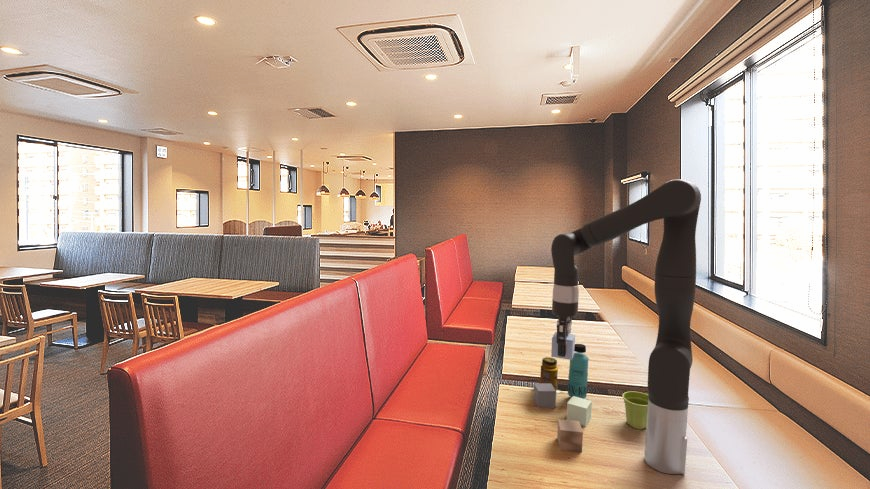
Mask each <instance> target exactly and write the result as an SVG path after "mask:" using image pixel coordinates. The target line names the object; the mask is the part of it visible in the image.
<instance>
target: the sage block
mask: <svg viewBox="0 0 870 489" xmlns="http://www.w3.org/2000/svg"><path fill="white" fill-rule="evenodd" d="M592 402H593V401H592V400H590V399H586V398H585V399H583V398H579V397H575V396H573V397H572V398H571V397H570V399H569V400H568V401H567V403H566V420H573V421H579V422H580V425H581V427H587V425H588V423H589V422H590V421H591V419H592V407H593V406H592Z"/></svg>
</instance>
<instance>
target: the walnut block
mask: <svg viewBox="0 0 870 489" xmlns="http://www.w3.org/2000/svg"><path fill="white" fill-rule="evenodd" d="M556 435H557V436H556V439H557V443H558V449H559V451H565V452H566V451H567V452H573V453H574V452H575V453H583V437H584V432H583V429H582V425H580V422H579V421H573V420H567V419H562V418H558V419H557V434H556Z"/></svg>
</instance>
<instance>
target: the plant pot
mask: <svg viewBox="0 0 870 489" xmlns="http://www.w3.org/2000/svg"><path fill="white" fill-rule="evenodd" d="M621 397H622V399H623V402H624V408H625V418H626V423H627V424H628V425H630V427H632V428H634V429H638V430H642V429H646V425H647V409H648V394H647V393H645V392H640V391H632V390H631V391H625V392H624V393H622V395H621Z"/></svg>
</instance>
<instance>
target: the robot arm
mask: <svg viewBox="0 0 870 489" xmlns="http://www.w3.org/2000/svg"><path fill="white" fill-rule="evenodd" d="M701 202H702V194H701V190H700V189H699V187H698V186H697V185H696V184H695V183H693V182H692V181H689V180H685V179H680V178H679V179H671V180H668V181H666V182H664V183H663V184H661V185H660V186H658V187H657V188H655V189H654V190H652V191H651V192H650V193H648V194H646V195H644V196H643V197H641V198H640V199H638V200H635V201H634V202H632V203H630V204H628V205H625V206H624V207H622V208H619V209H617V210H614V211H612V212H610V213H608V214H605V215H603V216H600V217H599V218H596V219H594V220H591V221H589V222H587V223H585V224H583V226H582V227H580V228H578V229H576V230H573V231H571V232H567V233H566V232H565V233H561V234H557V235H556V236H555V237H554V238H553V239H552V243H551V249H550V250H551V259H552V264H553V268H554V269H553V270H554V271H553V272H554V274H553V275H554V276H553V286H552V287H553V288H552V300H551V313H552V314H553V315H555V316H558V317H559V318H558V319H557V321H556V332H557V340H556V342H557V344H558V356H562V357H565V355H566V344H567V337H569V334H571V333H572V323H573V321H572V320H573V319H572V318H574V317H577V315H578V314H579V297H580V296H579V293H580V292H579V276H580V275H579V273H580V272H579V268H578V267H577V266H576V265H575V256H577V255H579V254H582V253H583V252H586V251H588V250H589V249H592V248H594V247H598V246H600V245H603V244H604V243H607V242H611V241H613V240H615V239H617V238H619V237H622V236H623V235H625V234H627V233H629V232H631V231H632V230H634V229H637V228H638V227H641V226H643V225H646V224H648V223H651V222H654V221H659V220H662V219H663V235H662V241H661V243H660V247H659V251H658V253H657V254H658V255H657V257H656V258H657V259H656V262H655V269H654V270H655V271H654V297H655V298H654V299H655V304H656V310H657V314H658V315H657V316H658V328H657V337H656V342H655V346H654V348H653V350H652V351H651V352H650V354H649V358H648V367H647V368H648V369H647V370H648V371H647V392H648V394H647V395H648V409H647V425H646V428H645V441H644V442H645V443H644V456H643V458H644V462H645V463H646V464H647V465H648V466H649V467H651V468H652V469H654V470H656V471H658V472H660V473H665V474H667V475H668V474H669V475H677V474H678V475H679V474H680V475H685V473H686V462H687V461H686V460H687V451H688V450H687V448H688V437H687V428H688V415H689V401H690V397H689V386H690V375H691V368H692V365H693V351H692V349H693V348H692V340H691V339H692V338H691V337H692V336H691V321H692V316H693V311H694V305H695V296H696V287H697V286H696V284H697V248H696V246H697V245H696V234H697V233H696V232H697V225H698V219H699V218H698V217H699V211H700V208H701ZM560 337H563V338H564V340H560Z"/></svg>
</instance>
